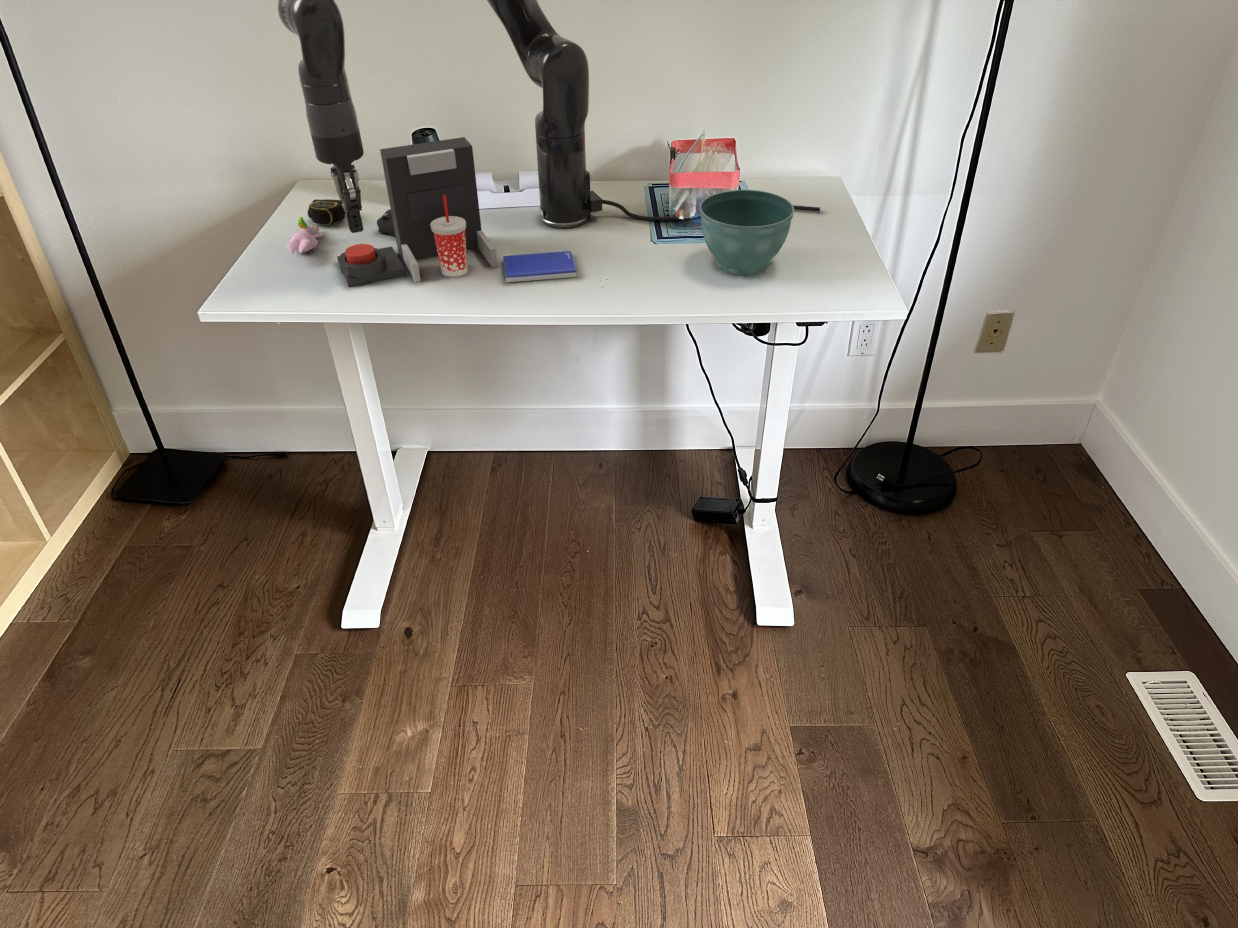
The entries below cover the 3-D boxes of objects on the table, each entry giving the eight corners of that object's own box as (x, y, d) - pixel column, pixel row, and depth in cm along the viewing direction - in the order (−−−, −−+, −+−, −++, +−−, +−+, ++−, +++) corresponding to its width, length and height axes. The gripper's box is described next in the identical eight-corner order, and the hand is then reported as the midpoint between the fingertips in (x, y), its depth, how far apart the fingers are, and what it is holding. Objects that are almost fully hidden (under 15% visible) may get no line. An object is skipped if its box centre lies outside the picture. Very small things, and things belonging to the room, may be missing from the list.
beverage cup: (462, 281, 152) (452, 204, 143) (431, 276, 153) (419, 199, 144) (477, 266, 156) (468, 190, 147) (447, 261, 158) (436, 186, 149)
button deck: (393, 254, 160) (390, 236, 158) (406, 277, 153) (403, 259, 151) (336, 264, 157) (332, 246, 155) (346, 289, 150) (342, 270, 147)
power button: (373, 250, 154) (371, 241, 153) (378, 262, 151) (377, 253, 150) (344, 256, 153) (342, 246, 152) (349, 267, 149) (347, 258, 148)
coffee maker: (476, 237, 166) (464, 137, 154) (497, 266, 156) (486, 162, 144) (398, 251, 161) (379, 149, 149) (415, 282, 151) (397, 175, 139)
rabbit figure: (296, 241, 168) (280, 263, 155) (290, 210, 165) (272, 230, 152) (329, 239, 168) (316, 261, 156) (323, 208, 165) (309, 228, 153)
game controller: (407, 236, 164) (382, 213, 162) (392, 253, 167) (367, 230, 165) (426, 215, 171) (402, 193, 169) (411, 232, 174) (387, 210, 172)
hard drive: (571, 249, 158) (502, 254, 156) (576, 269, 152) (505, 275, 150) (571, 257, 159) (503, 262, 157) (576, 277, 152) (506, 283, 151)
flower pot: (685, 276, 153) (687, 218, 146) (711, 240, 164) (715, 184, 158) (774, 292, 148) (782, 232, 141) (795, 253, 160) (803, 196, 153)
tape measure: (351, 215, 174) (347, 197, 172) (340, 229, 169) (336, 210, 167) (317, 214, 175) (313, 196, 172) (306, 228, 169) (301, 210, 167)
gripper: (366, 137, 134) (386, 241, 145) (350, 112, 143) (370, 212, 154) (316, 144, 132) (341, 250, 143) (304, 119, 141) (328, 220, 152)
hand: (356, 230), depth 148 cm, fingers closed
